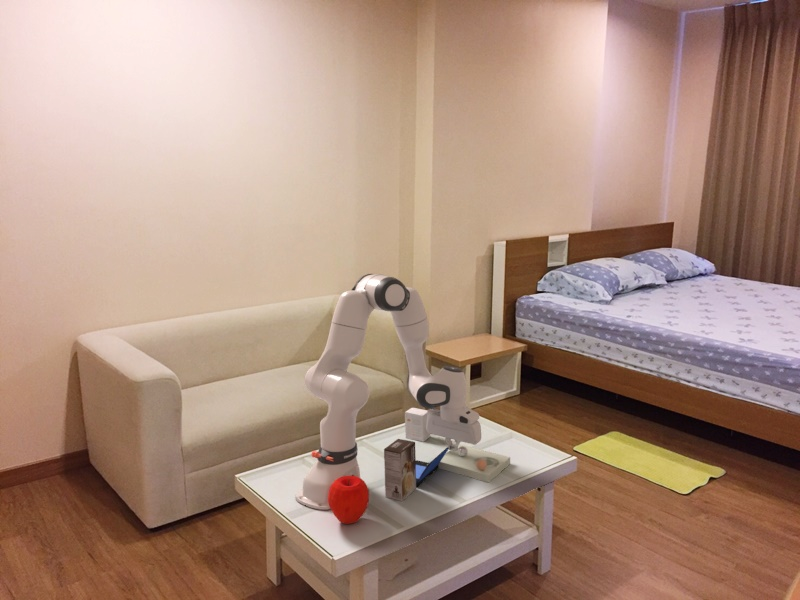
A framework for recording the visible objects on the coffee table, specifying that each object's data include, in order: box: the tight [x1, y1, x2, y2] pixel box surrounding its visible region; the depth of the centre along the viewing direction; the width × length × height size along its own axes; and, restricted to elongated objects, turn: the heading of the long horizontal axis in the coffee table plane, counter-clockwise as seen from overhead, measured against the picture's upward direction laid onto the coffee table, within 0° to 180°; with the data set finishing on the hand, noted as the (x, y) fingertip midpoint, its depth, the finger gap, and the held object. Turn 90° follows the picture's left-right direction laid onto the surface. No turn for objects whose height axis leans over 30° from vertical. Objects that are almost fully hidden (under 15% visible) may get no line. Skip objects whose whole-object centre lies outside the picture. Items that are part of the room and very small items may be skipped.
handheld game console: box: [416, 447, 449, 488], centre depth 211 cm, size 16×13×9 cm
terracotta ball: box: [476, 459, 487, 470], centre depth 210 cm, size 4×4×4 cm
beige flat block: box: [438, 443, 511, 483], centre depth 218 cm, size 16×20×2 cm
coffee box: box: [383, 438, 417, 502], centre depth 199 cm, size 9×6×16 cm
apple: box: [328, 476, 370, 525], centre depth 183 cm, size 12×12×13 cm
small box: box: [404, 407, 431, 443], centre depth 242 cm, size 8×6×10 cm
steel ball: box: [458, 445, 468, 457], centre depth 220 cm, size 4×4×4 cm
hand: (453, 450), depth 222 cm, fingers closed
